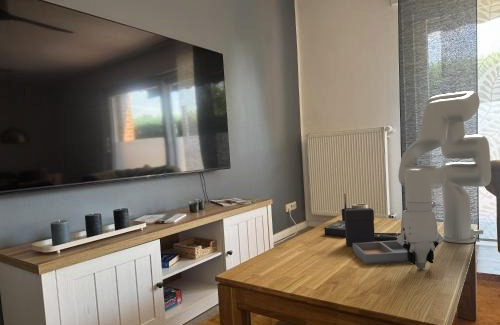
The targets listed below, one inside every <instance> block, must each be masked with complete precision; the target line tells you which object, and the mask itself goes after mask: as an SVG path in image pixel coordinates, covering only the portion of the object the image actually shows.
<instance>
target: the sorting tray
mask: <svg viewBox="0 0 500 325" xmlns="http://www.w3.org/2000/svg"><path fill="white" fill-rule="evenodd" d="M403 242H405V243H406V244H407V240H403ZM352 253H353V254H354V255H355V256H357V258H358V259H359V260H360V261H362V263H363V264H365V265H367V266H368V265H370V266H371V265H383V264H385V265H386V264H399V263H401V264H402V263H410V262H409V261H408V256H407V250H406V249H405V248H404V247H403V246H402V245H401V244H399V243H398V242H397V241H396V240H385V241H384V240H383V241H375V242H364V243H353V247H352ZM415 263H416V261H415Z"/></svg>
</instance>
